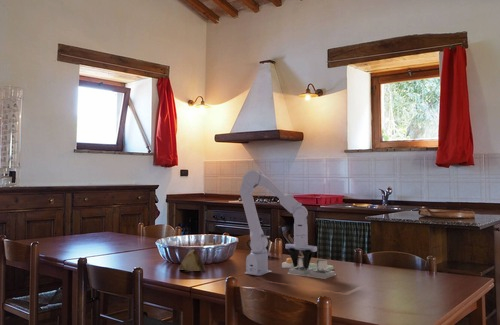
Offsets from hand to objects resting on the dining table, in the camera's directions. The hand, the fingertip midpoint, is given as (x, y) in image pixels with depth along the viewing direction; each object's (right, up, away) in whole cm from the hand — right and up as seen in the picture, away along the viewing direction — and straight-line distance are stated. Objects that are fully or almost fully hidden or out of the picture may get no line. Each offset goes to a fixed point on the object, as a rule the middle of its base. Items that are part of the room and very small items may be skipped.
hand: (301, 267), depth 194 cm
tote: (+6, -3, +8) cm, 10 cm away
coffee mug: (-17, -5, +46) cm, 49 cm away
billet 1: (0, -2, 0) cm, 2 cm away
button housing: (-4, -3, +13) cm, 14 cm away
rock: (-47, -4, +9) cm, 48 cm away
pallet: (+4, -3, -3) cm, 6 cm away
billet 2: (+8, -2, -6) cm, 10 cm away
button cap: (-4, -2, +13) cm, 14 cm away
